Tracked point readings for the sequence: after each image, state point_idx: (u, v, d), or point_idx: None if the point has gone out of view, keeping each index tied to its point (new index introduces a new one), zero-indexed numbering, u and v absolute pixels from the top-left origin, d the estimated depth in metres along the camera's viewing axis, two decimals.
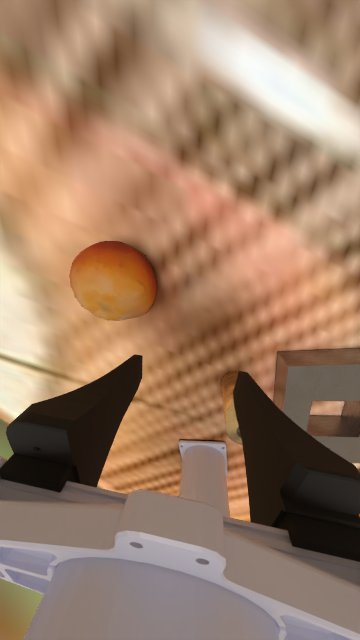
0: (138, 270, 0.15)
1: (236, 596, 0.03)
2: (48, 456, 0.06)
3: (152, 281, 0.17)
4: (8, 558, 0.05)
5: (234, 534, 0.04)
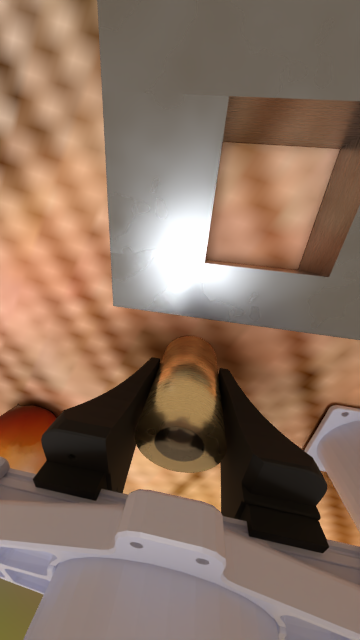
0: None
1: (236, 596, 0.03)
2: (82, 463, 0.06)
3: None
4: (8, 558, 0.05)
5: (234, 534, 0.04)
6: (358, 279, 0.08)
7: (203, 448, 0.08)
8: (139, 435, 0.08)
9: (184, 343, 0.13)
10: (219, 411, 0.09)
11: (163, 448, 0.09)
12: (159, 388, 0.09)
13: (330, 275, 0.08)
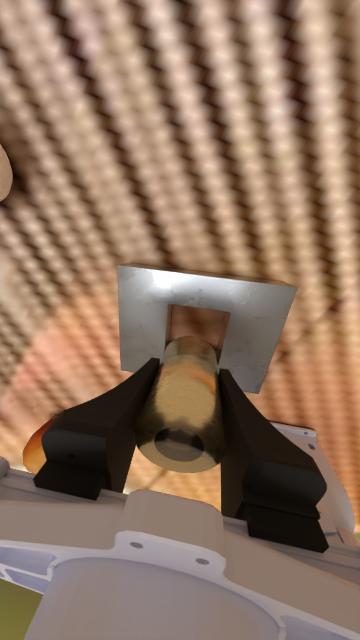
0: (35, 442, 0.25)
1: (236, 596, 0.03)
2: (82, 464, 0.06)
3: None
4: (8, 558, 0.05)
5: (234, 534, 0.04)
6: (231, 366, 0.19)
7: (203, 448, 0.08)
8: (139, 435, 0.08)
9: (184, 343, 0.13)
10: (219, 412, 0.09)
11: (162, 449, 0.09)
12: (159, 388, 0.09)
13: (219, 363, 0.19)
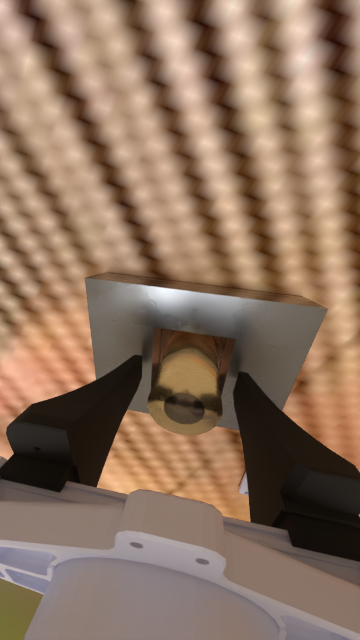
0: None
1: (236, 596, 0.03)
2: (48, 456, 0.06)
3: None
4: (8, 558, 0.05)
5: (234, 534, 0.04)
6: None
7: (203, 411, 0.10)
8: (151, 401, 0.10)
9: None
10: (217, 383, 0.11)
11: (170, 413, 0.10)
12: (167, 365, 0.11)
13: None
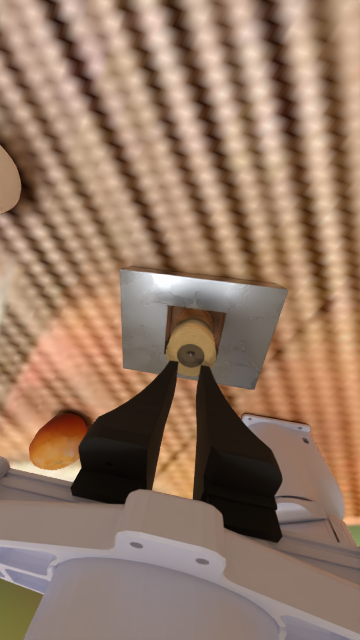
0: (41, 438, 0.26)
1: (236, 596, 0.03)
2: (119, 471, 0.06)
3: (55, 428, 0.27)
4: (8, 558, 0.05)
5: (234, 534, 0.04)
6: (227, 363, 0.20)
7: (203, 357, 0.15)
8: (168, 351, 0.15)
9: (191, 310, 0.20)
10: (212, 339, 0.16)
11: (181, 359, 0.15)
12: (178, 328, 0.16)
13: (216, 361, 0.20)
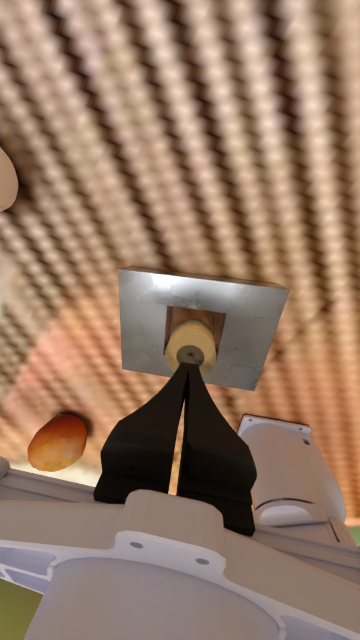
0: (39, 439, 0.26)
1: (236, 596, 0.03)
2: (142, 476, 0.06)
3: (53, 430, 0.27)
4: (8, 558, 0.05)
5: (234, 534, 0.04)
6: (227, 364, 0.19)
7: (203, 358, 0.15)
8: (168, 352, 0.15)
9: (191, 310, 0.20)
10: (212, 340, 0.15)
11: (181, 361, 0.15)
12: (178, 329, 0.16)
13: (216, 362, 0.20)
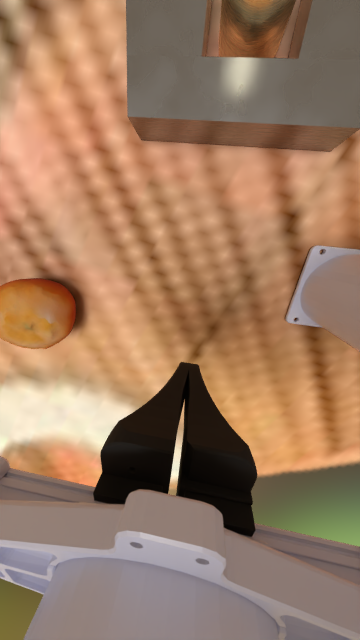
0: (1, 287, 0.17)
1: (236, 596, 0.03)
2: (142, 476, 0.06)
3: (24, 279, 0.18)
4: (8, 558, 0.05)
5: (234, 534, 0.04)
6: (320, 58, 0.11)
7: None
8: None
9: None
10: None
11: None
12: None
13: (299, 57, 0.11)
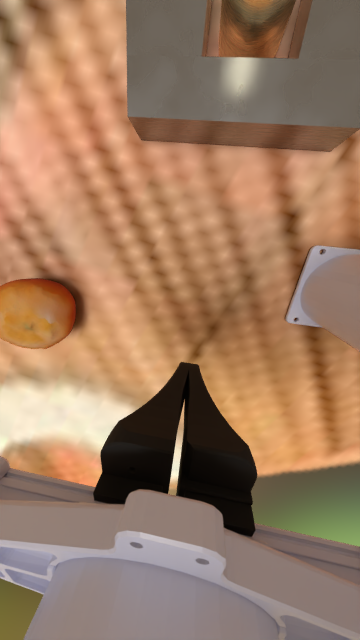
0: (1, 287, 0.17)
1: (236, 596, 0.03)
2: (142, 476, 0.06)
3: (24, 279, 0.18)
4: (8, 558, 0.05)
5: (234, 534, 0.04)
6: (320, 58, 0.11)
7: None
8: None
9: None
10: None
11: None
12: None
13: (299, 57, 0.11)
